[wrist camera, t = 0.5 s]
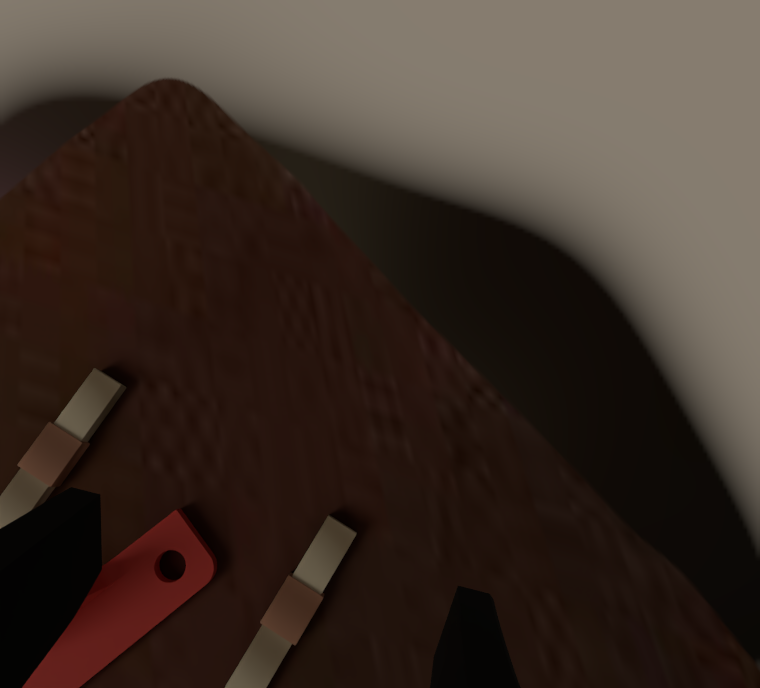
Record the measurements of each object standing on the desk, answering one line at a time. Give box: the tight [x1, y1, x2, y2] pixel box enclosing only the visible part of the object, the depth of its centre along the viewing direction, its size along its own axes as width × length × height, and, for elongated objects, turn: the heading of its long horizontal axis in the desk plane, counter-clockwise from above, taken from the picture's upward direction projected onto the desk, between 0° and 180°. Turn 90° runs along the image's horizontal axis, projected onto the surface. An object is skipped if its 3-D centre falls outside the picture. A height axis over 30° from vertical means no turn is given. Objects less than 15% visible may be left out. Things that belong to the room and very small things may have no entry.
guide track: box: [0, 368, 357, 688], centre depth 36 cm, size 17×19×1 cm
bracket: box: [22, 509, 217, 688], centre depth 32 cm, size 12×4×8 cm, turn 129°
